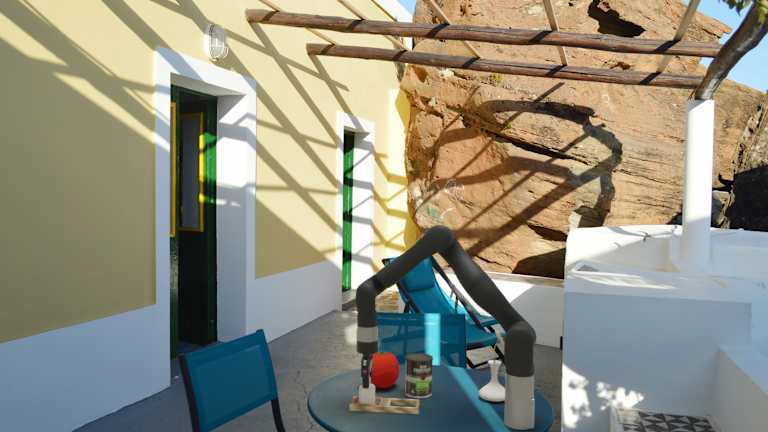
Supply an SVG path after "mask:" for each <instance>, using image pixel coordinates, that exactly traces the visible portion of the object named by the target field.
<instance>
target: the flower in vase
mask: <svg viewBox="0 0 768 432" xmlns="http://www.w3.org/2000/svg"><path fill="white" fill-rule="evenodd" d="M494 333H495V336H496V338H497V341H496V343H495V345H494V347H493V349H492V353H493V355H492V357H491V358H493V359H491V360H487V364H489V367H490V373H491V377H490V381H489V382H488V383H487V384H486V385H484V386H483V387H481V388H480V390H479V391H478V393H477V394H478V396H479V397H480V398H482V399H483V400H486V401H489V402H503V401H504V402H505V386H503V385H502V384H501V383H500V382H499V380H498V376H499V375H498V373H499V368H500V366H501V364H502V361H500V360H497V359H495V358H496V357H499V354H497V353H496V352H495V350H496V346H497V344H498V343H500V344H501V346H502V347H503V348H504V341H505V340H504V337H502V336H501V335H500V334H501V333H500V332H499V331H498V329H495V330H494Z"/></svg>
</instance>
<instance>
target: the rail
mask: <svg viewBox="0 0 768 432" xmlns="http://www.w3.org/2000/svg"><path fill="white" fill-rule="evenodd" d="M348 406H349V408H348V409H349V411H350V412H366V413H367V412H368V413H369V412H370V413H385V414H387V413H388V414H408V415H410V414H411V415H419V414H420V406H421V400H420V399H418V398H412V399H411V398H393V397H392V398H391V397H381V396H375V404H359V395H356V396H353V397H352V400H351V403H350V404H349V405H348Z"/></svg>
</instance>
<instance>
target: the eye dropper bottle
mask: <svg viewBox="0 0 768 432" xmlns="http://www.w3.org/2000/svg"><path fill="white" fill-rule="evenodd" d="M358 396H359V403H358V404H375V397H376V388H375V386H374V385H373V384H371V377H369V388H363V383H361V384H360V385H359V387H358Z"/></svg>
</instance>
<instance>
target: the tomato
mask: <svg viewBox="0 0 768 432" xmlns="http://www.w3.org/2000/svg"><path fill="white" fill-rule="evenodd" d="M373 357H374V359H373V369H371V370H372V380H371V384H373V385H374V386H375V389H389V388H390V387H391V386H394V384H395V383H396V382H397V381H398V379H399V377H400V364H399V361H398V359H397V357H396V356H395V355H394V354H392V353H391V350H388V351H381V350H380V348H378V352H377V353H374V354H373ZM364 374H366V371H364Z"/></svg>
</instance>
